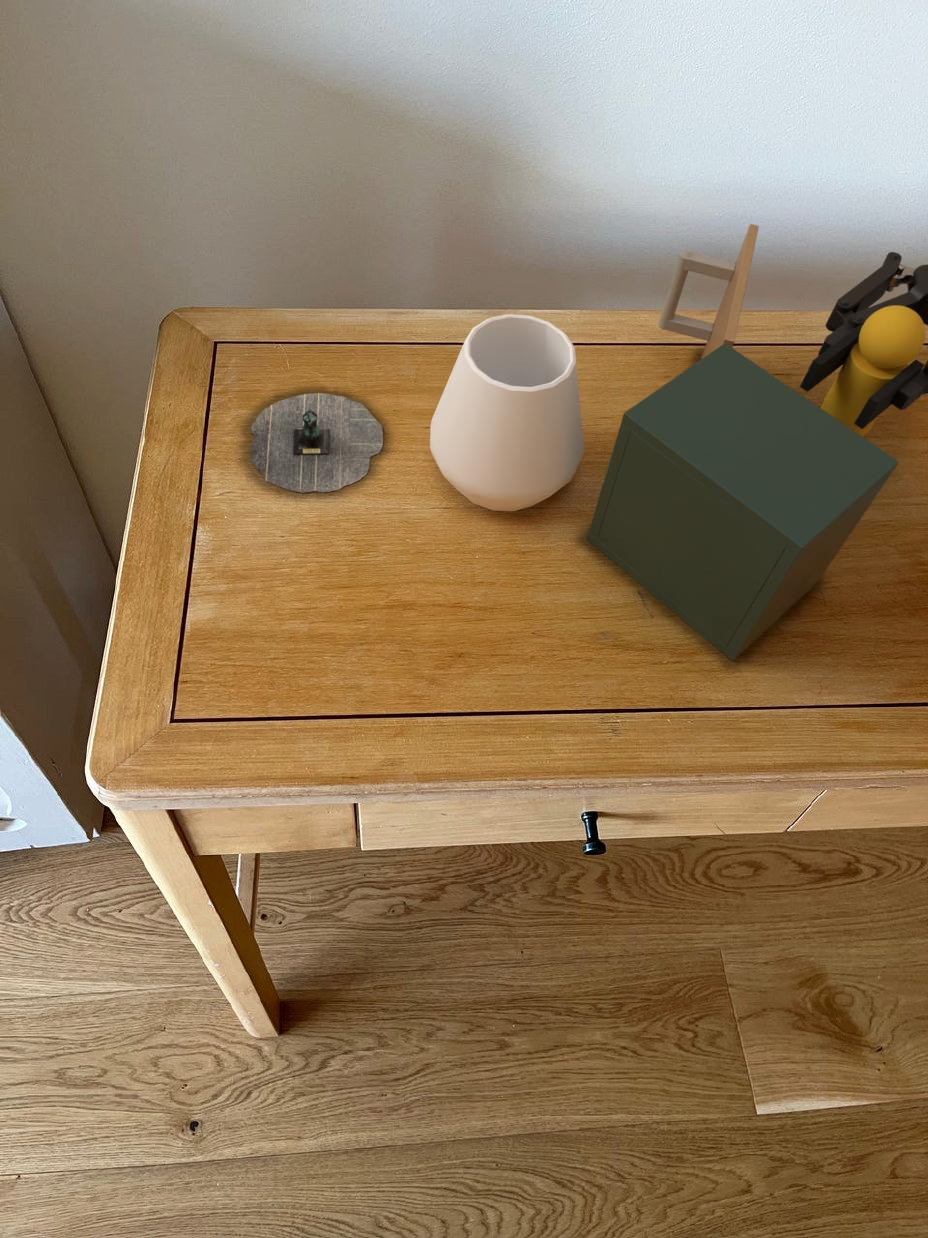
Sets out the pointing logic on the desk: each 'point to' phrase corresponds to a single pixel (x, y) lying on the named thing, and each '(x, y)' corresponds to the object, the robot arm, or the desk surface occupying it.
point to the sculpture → (315, 442)
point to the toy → (874, 362)
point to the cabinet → (732, 496)
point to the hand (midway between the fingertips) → (838, 394)
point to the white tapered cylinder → (510, 414)
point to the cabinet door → (731, 301)
